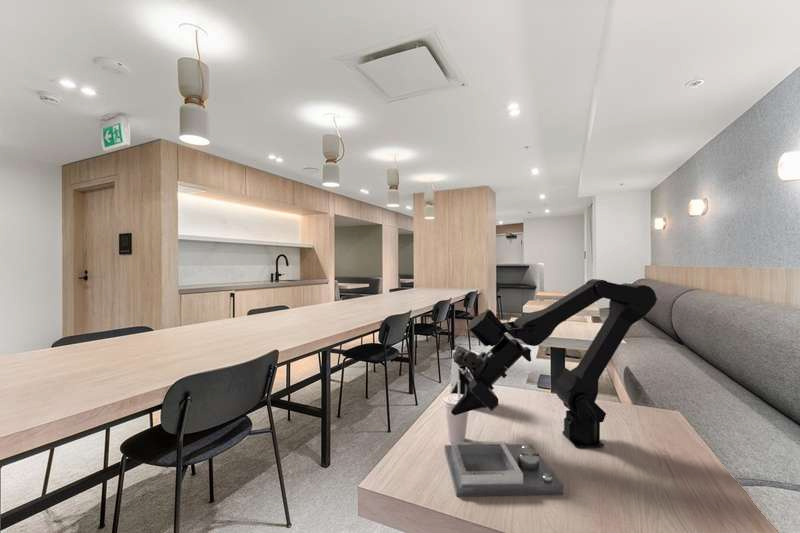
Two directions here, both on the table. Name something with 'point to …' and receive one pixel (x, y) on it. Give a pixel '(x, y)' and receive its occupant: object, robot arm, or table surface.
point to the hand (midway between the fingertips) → (450, 407)
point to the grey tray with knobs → (499, 470)
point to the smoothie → (455, 417)
